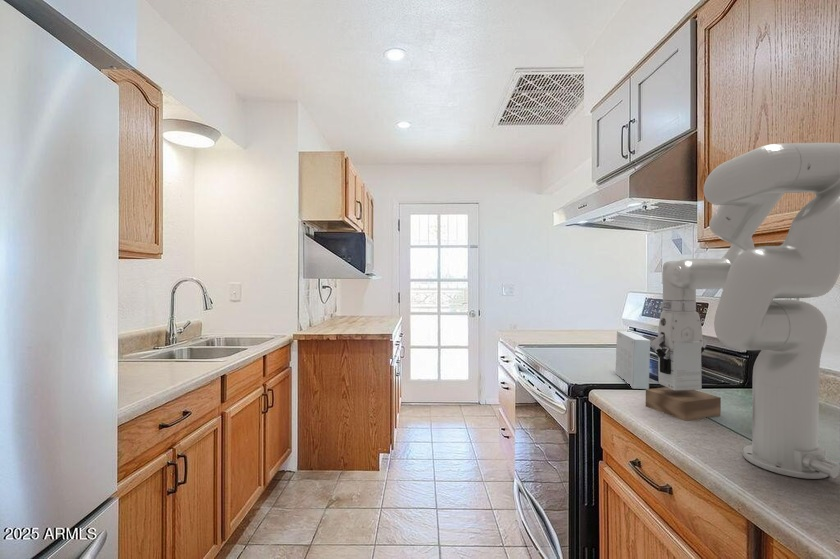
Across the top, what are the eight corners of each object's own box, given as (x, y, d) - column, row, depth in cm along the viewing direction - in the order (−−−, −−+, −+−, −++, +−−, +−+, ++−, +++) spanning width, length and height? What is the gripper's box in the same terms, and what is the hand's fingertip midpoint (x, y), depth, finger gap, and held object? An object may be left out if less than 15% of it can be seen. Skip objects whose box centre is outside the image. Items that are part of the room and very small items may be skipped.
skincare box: (651, 390, 130) (651, 339, 130) (632, 389, 131) (632, 339, 131) (631, 374, 151) (630, 330, 150) (614, 373, 152) (614, 330, 151)
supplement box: (683, 383, 114) (683, 337, 114) (702, 390, 107) (702, 341, 107) (657, 383, 114) (657, 337, 114) (674, 390, 107) (674, 342, 107)
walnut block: (720, 416, 106) (720, 397, 106) (684, 422, 103) (684, 402, 103) (679, 403, 118) (679, 385, 118) (645, 407, 114) (645, 389, 114)
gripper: (660, 308, 105) (661, 377, 105) (719, 307, 108) (719, 374, 108) (640, 306, 112) (640, 370, 113) (695, 305, 116) (695, 367, 116)
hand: (679, 372), depth 111 cm, fingers closed on supplement box, 7 cm apart
